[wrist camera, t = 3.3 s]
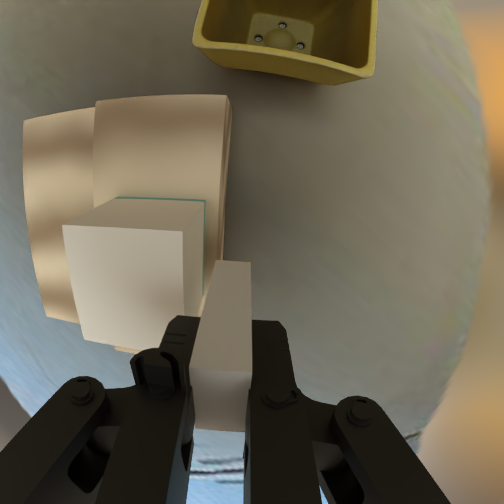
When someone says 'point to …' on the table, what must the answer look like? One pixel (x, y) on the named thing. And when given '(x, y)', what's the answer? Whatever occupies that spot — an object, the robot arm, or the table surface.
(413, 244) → the table surface
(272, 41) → the flower pot
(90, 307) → the cream block
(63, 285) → the beech steps
